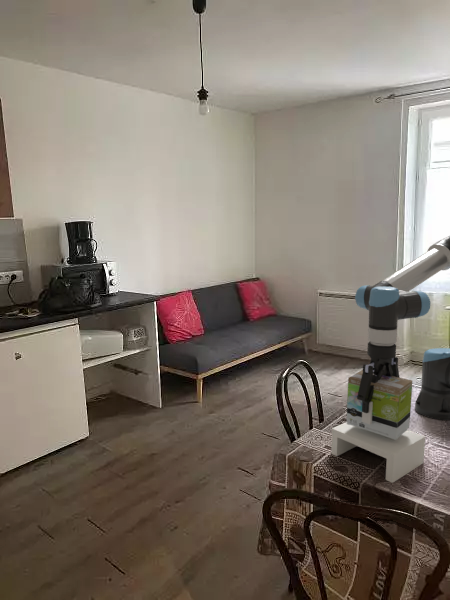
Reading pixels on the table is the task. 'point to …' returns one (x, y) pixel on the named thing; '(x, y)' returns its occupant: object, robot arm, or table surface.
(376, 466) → the table surface
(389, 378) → the tea box
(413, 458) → the white riser stand
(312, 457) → the table surface
